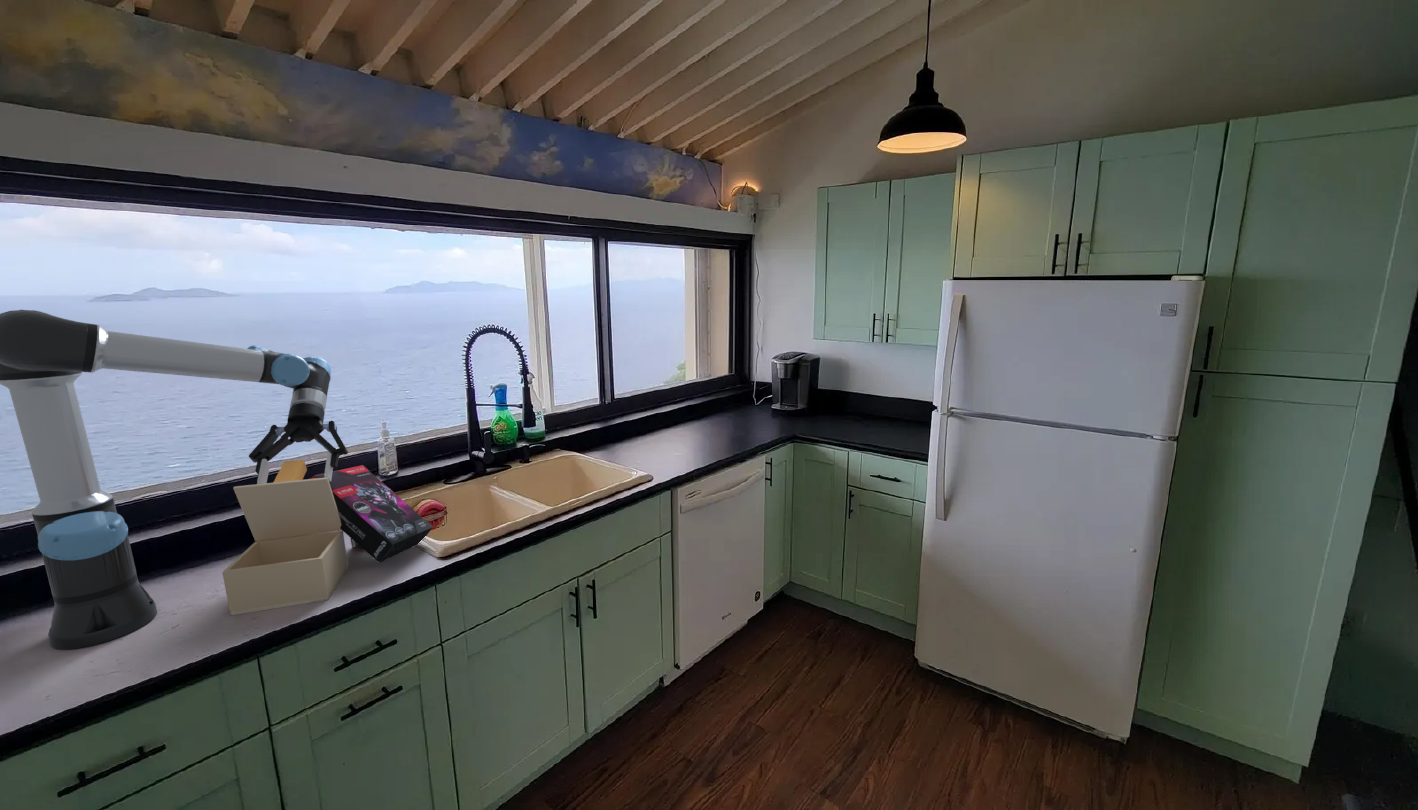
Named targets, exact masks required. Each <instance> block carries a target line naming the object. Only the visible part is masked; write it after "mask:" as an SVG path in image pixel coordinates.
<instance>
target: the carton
mask: <svg viewBox="0 0 1418 810" xmlns="http://www.w3.org/2000/svg"><path fill="white" fill-rule="evenodd" d="M346 551H347V549H346V543H345V537H344V531H342V530H341V531H333V532H325V533H317V534H309V535H301V536H293V537H285V538H277V539H269V540H261V541H254V542H253V543H252V544H251V545H250V546H249V547H248V548H247V549H245V551H243V552H242V553H241V554H240V555H239V556H238V557H237V558H236V559H235V560H234V561H232V562H231V563H230V564H229V565H228V566H227V567H226V568H225V569H224V570H223V571H222V572H221V574H222V578H223V584H224V589H225V594H226V598H227V604H228V609H229V614H230V616H235V615H241V614H248V613H253V612H260V611H266V610H273V609H279V608H287V607H292V606H298V605H303V604H304V605H306V604H310V603H311V604H312V603H317V602H323V601H329V600H330V597H332V596H333V593H334V592H335V590H336V589H337V587H338V585H339V584H340V582H341V580H342V579H343V578H344V576H345V574H346V573H347V571H348V569H349V563H348V557H347V556H348V555H347V552H346Z"/></svg>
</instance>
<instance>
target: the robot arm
mask: <svg viewBox="0 0 1418 810" xmlns="http://www.w3.org/2000/svg"><path fill="white" fill-rule="evenodd" d="M102 369H104V370H116V371H118V370H119V371H129V372H140V373H149V374H150V373H151V374H163V375H173V376H185V377H197V378H208V379H220V380H230V381H239V382H240V381H243V382H253V383H262V384H273V385H281V386H283V387H287V388H289V389H292V395H291V401H290V404H289V410H288V414H287V422H286V424H285V426H277V425H276V424H272V425H271V426H270V428H269V431H268V433H267V434H266V435H265V436H264V437H263V439H261V441H260V442H259V443H258V444H257V446H255V447H254V449H252V451H251V452H250V453H249V455H248V458H249V459H250V460H251V461H252V462H253V463H256V465H255V473H256V474H257V475H258V476H257V480H256V481H257V482H256V484H265V483H268V477H269V473H270V468H271V463H270V461H271V460H272V459H273V458H275V457H276V456H277V455H279V453H280V452H282V451H283V450H285V449H286V448H287V447H289V446H291V445H292V444H294V443H295V442H296V444H297V443H302V442H307V443H308V442H309V443H310V442H312V441H313V440H315V441H316V442H317V443H318V444H319V445H320V446H322V447H323V448H324V449H325V450H326V451H327V452H328V453H327V454H326V460H325V466H324V467H325V468H324V473H325V474H324V477H325V478H326V477H328V480H329V481H331V479H332V472H333V471H334V470H333V469H336V468H338V464H339V459H340V456H343V455H348V453H349V451H348V450H347V448H346V446H345V444H344V442H343V440H342V438H341V437H340V435H339V434H338V427H337V425H336V423H335V421H334V420H330V421H328V422H327V423H324V422H325V421H324V419H325V415H326V413H325V411H326V407H327V400H328V393H329V387H330V382H331V379H332V377H331V374H332V369H331V365H330V363H329V362H328V361H327V360H325V359H323V358H320V357H313V356H306V357H303V358H302V357H300V356H298V355H297V354H293V353H283V352H275V351H273V350H272V349H271V350H270V349H267V347H262V346H258V345H254V344H253V345H250V346H248V347H247V348H242V347H235V346H228V345H219V344H211V343H202V342H195V341H188V340H181V339H172V338H164V337H157V336H148V335H142V334H133V333H126V332H117V331H109V330H105V328H103V327H102V326H101V325H100V324H95V323H87V322H83V321H82V322H81V321H75V320H71V319H66V318H63V317H59V316H55V315H52V314H49V313H46V312H43V311H40V310H34V309H33V310H29V309H17V310H15V309H14V310H8V311H5V312H1V313H0V385H1V386H3V387H6V388H7V389H8V390H9V393H10V397H11V400H12V405H13V408H14V411H15V414H16V419H17V422H18V425H19V429H20V433H21V434H20V435H21V437H22V441H23V443H24V448H25V451H26V454H27V459H28V461H29V466H30V469H31V472H32V473H31V474H32V477H33V480H34V483H35V488H36V491H37V494H38V498H39V503H38V504H37V505H36V506H35V507H34V508H33V509H32V510H31V515H32V519H33V522H34V527H35V530H36V533H37V541H38V542H37V546H38V547H37V548H38V550H39V552H40V553H41V556H42V559H43V564H44V567H45V572H46V575H47V579H48V583H49V588H50V591H51V595H52V598H53V601H54V603H53V604H54V608H53V614H52V618H51V625H50V628H49V630H48V632H47V636H48V640H49V643H50V647H52V648H53V649H57V650H73V649H74V650H75V649H80V648H85V647H91V646H95V645H97V644H101V643H106V642H108V641H112V640H114V639H117V638H120V637H123V636H125V635H128V634H131V633H132V632H134V631H137V630H138V629H140V628H142V627H144V626H145V625H147V624H149V623H150V622H151V621H152V620H154V619H155V617H156V616H157V614H158V610H157V605H156V602H155V600H154V599H153V598H152V597H151V596H150V593H148V592H147V590H146V589H145V588H144V587H143V586H142V584H141V583H140V582H139V580H138V579H139V578H138V574H137V569H136V565H135V561H134V556H133V552H132V547H131V542H130V538H129V527H128V524H127V523H126V522H125V518H124V517H123V515H121V514H119V513H118V511H117V508H116V507H117V506H116V504H115V501H114V496H113V494H112V493H108V492H106V491H103V490H102V489H101V486H100V482H99V478H98V474H97V471H96V466H95V462H94V458H93V455H92V454H93V453H92V451H91V446H90V443H89V438H88V434H87V431H86V427H85V422H84V419H83V415H82V412H81V407H80V404H79V400H78V396H77V392H76V387H75V381H77V380H78V378H79V377H80V376H82V374H83V373H90V374H91V373H92V374H93V373H95V372H97V371H99V370H102ZM324 430H326V431H327V432H329V433H330V434H331V436H332V438H333V440H334V441H335V443H336V445H337V447H338V448H336V447H334V446H333V445H332V444H331V443H330V442H329V441H328V439H327V440H326V438H325V437H323V436H322V435H321V434H322V432H323V431H324Z"/></svg>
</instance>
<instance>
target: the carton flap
mask: <svg viewBox="0 0 1418 810" xmlns="http://www.w3.org/2000/svg"><path fill="white" fill-rule="evenodd" d="M307 471H308V467H307V465H306V461H305V459H298V460H287V461H283V464H282V466H281V467H280V469H279V471H278V473H277V475H276V476H275V479H274V481H273V482H267V483H265V484H257V483H256V484H248V485H247V484H245V485H237V486H233V491H234V493H235V495H236V499H237V501H238V503H239V506H240V507H241V511H242V513H243V515H244V518H245V520H246V522H247V524H248V527H249V529H250V531H251V534H252V536H253V538H254V542H256V541H264V540H272V539H280V538H288V537H296V536H304V535H312V534H320V533H328V532H336V531H342V530H341V529H340V527H341V519H340V516H339V513H338V509H337V506H336V503H335V500H334V496H333V493H332V490H331V487H330V483H329V480H328V477H326V478H316V479H310V478H308V479H304V477H305V475H306V473H307Z"/></svg>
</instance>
